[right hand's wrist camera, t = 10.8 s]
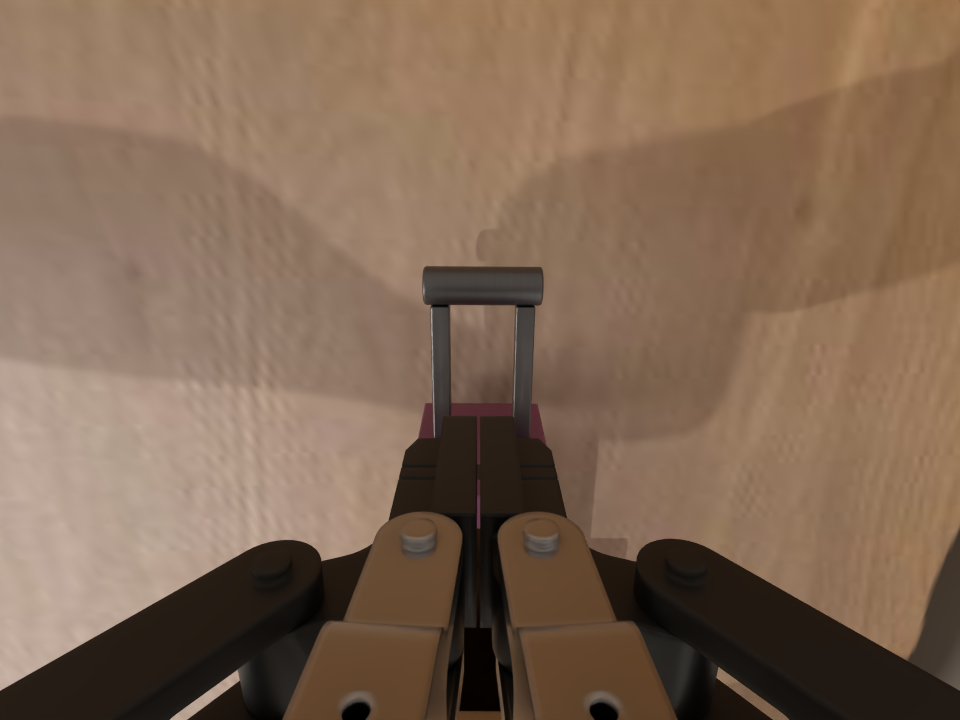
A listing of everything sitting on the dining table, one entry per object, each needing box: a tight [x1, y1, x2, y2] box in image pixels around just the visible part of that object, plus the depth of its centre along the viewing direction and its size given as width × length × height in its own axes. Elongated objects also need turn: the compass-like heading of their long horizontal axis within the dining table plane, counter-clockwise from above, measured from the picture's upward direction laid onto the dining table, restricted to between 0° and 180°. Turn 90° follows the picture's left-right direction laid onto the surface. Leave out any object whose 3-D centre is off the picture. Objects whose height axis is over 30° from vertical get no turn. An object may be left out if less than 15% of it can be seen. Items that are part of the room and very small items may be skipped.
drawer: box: [418, 266, 546, 711], centre depth 22 cm, size 25×4×6 cm, turn 0°
